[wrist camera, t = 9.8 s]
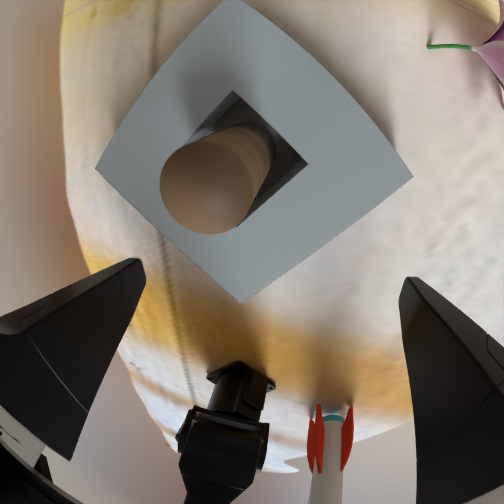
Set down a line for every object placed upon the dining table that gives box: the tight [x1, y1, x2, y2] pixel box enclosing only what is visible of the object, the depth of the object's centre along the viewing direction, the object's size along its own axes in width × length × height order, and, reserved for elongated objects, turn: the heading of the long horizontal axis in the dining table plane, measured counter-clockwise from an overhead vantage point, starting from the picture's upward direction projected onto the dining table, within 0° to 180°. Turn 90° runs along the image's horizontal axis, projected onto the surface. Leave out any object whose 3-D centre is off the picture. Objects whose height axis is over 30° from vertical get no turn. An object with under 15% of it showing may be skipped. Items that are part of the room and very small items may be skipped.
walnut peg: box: [160, 123, 276, 235], centre depth 15 cm, size 4×4×9 cm
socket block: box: [95, 0, 413, 303], centre depth 17 cm, size 15×15×4 cm
